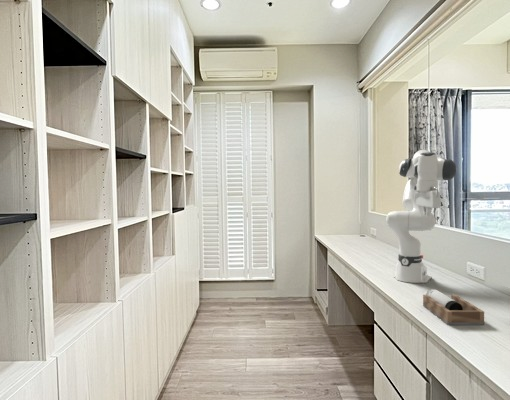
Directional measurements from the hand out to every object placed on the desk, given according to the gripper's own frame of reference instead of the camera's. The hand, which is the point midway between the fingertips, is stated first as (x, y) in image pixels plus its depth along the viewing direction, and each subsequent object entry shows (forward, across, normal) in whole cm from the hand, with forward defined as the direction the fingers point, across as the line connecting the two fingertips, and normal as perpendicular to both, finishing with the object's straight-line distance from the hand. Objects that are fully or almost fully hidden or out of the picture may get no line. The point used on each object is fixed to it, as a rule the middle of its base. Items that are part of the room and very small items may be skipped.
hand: (427, 216), depth 175 cm
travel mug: (+35, -9, +1) cm, 36 cm away
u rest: (+39, -22, -1) cm, 45 cm away
